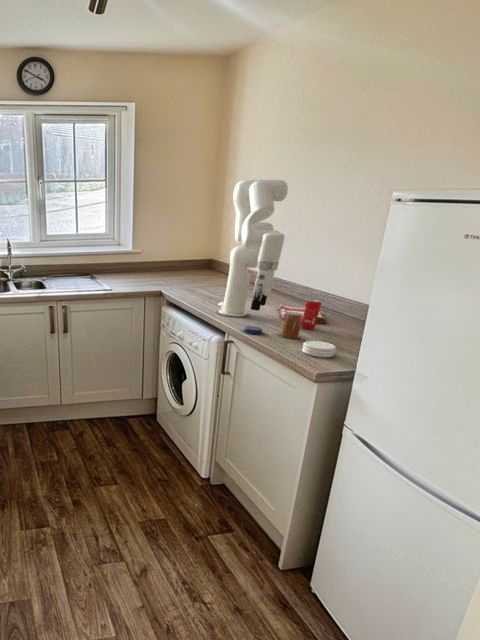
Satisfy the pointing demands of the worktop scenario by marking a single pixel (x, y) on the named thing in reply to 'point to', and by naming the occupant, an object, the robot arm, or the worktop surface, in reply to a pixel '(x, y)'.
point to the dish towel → (287, 309)
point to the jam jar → (292, 325)
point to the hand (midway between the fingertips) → (257, 307)
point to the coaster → (318, 349)
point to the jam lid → (253, 330)
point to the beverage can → (311, 314)
